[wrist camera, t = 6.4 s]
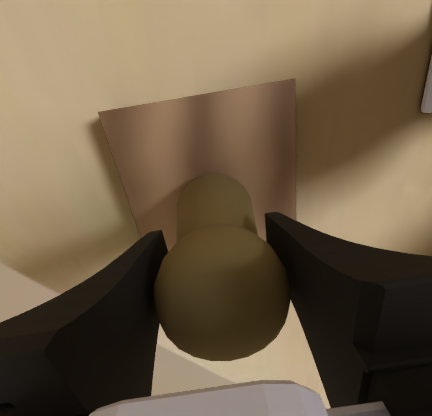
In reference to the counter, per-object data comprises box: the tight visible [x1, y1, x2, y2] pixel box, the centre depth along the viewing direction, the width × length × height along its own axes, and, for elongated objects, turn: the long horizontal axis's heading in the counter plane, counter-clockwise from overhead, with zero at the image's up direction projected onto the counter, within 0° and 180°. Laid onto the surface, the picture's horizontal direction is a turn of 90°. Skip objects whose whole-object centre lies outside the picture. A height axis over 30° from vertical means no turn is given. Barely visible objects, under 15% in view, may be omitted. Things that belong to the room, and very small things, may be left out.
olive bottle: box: [154, 174, 291, 361], centre depth 12 cm, size 6×6×11 cm
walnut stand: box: [98, 79, 296, 252], centre depth 19 cm, size 14×14×2 cm
